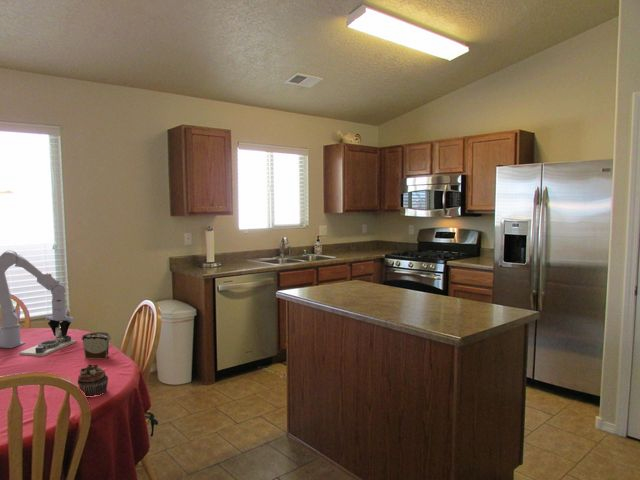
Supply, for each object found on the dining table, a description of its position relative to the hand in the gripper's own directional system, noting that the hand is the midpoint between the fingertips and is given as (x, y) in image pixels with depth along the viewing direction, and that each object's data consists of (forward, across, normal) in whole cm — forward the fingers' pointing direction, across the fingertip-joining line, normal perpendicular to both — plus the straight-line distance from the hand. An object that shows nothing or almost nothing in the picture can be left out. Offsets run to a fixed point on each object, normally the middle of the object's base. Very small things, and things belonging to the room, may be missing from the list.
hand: (60, 335), depth 219 cm
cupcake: (+2, -58, +52) cm, 78 cm away
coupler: (+2, 0, 0) cm, 2 cm away
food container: (+2, -35, +18) cm, 39 cm away
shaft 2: (+2, -7, +6) cm, 10 cm away
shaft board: (+2, -5, +13) cm, 14 cm away
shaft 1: (+2, -7, +20) cm, 21 cm away
